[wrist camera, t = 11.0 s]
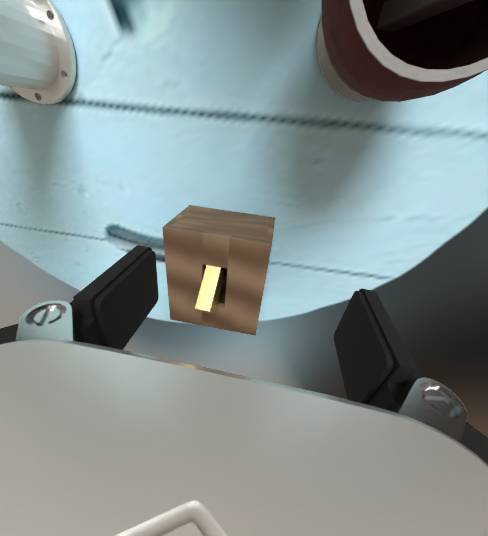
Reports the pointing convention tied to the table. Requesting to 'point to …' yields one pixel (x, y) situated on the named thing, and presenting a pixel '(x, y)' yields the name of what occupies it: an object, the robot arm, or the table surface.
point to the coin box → (218, 265)
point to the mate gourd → (401, 46)
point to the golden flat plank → (210, 289)
